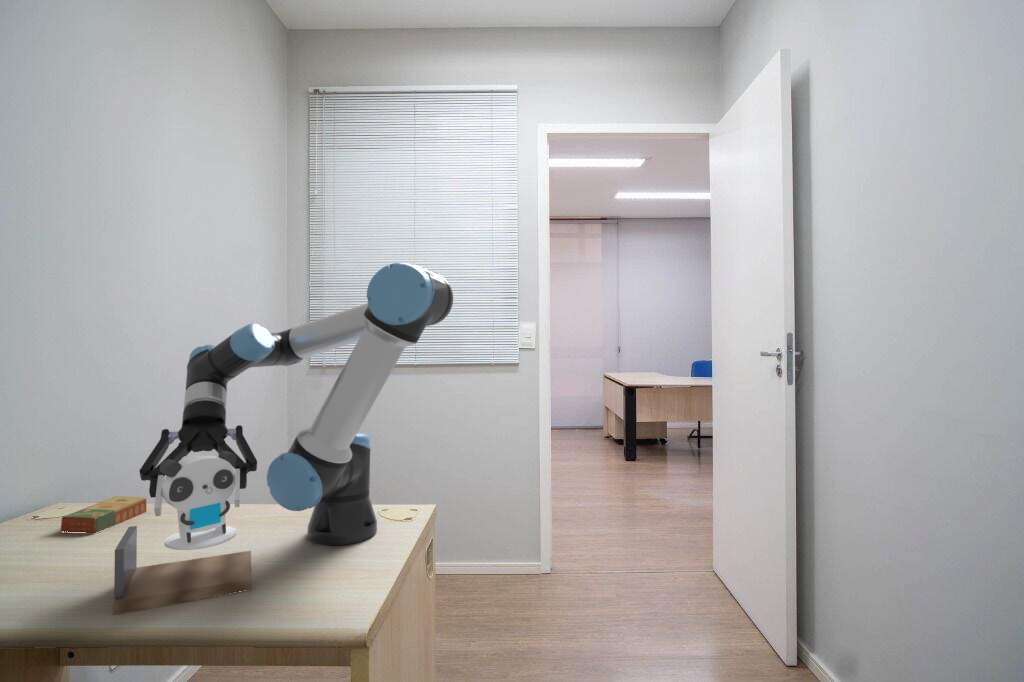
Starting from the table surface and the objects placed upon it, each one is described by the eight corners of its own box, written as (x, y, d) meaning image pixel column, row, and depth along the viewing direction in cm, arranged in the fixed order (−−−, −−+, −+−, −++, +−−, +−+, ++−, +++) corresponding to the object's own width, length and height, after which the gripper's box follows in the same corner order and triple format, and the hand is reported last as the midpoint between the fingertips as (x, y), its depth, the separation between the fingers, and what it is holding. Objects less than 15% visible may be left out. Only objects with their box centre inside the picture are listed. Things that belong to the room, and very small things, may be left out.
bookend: (136, 569, 99) (136, 525, 99) (123, 598, 88) (123, 548, 88) (128, 570, 98) (128, 526, 98) (114, 599, 87) (114, 550, 87)
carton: (147, 513, 138) (147, 496, 138) (95, 536, 122) (95, 517, 122) (115, 512, 138) (115, 495, 138) (59, 534, 122) (60, 515, 122)
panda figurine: (173, 556, 90) (174, 466, 90) (150, 539, 97) (151, 456, 97) (246, 537, 99) (247, 455, 99) (221, 522, 107) (222, 446, 106)
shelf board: (250, 560, 108) (250, 550, 108) (251, 590, 95) (251, 578, 95) (129, 579, 99) (129, 568, 99) (112, 614, 86) (112, 602, 86)
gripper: (268, 418, 117) (271, 509, 104) (136, 424, 107) (119, 527, 93) (270, 396, 112) (272, 489, 99) (131, 400, 102) (112, 505, 88)
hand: (198, 507), depth 96 cm, fingers closed on panda figurine, 11 cm apart
